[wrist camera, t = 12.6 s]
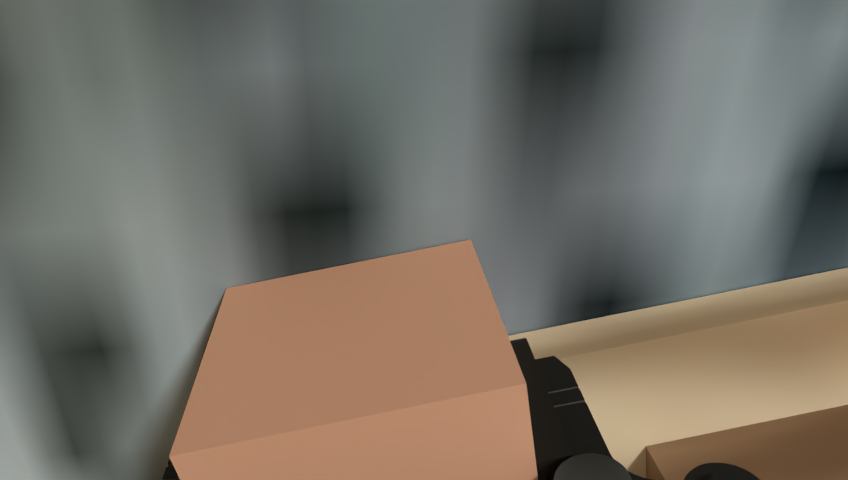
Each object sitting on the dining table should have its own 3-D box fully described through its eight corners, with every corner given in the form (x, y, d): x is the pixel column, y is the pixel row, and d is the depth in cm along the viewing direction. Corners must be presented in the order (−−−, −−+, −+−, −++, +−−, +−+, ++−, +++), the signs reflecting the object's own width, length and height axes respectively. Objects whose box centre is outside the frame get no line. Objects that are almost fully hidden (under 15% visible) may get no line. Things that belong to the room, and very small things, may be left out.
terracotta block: (226, 288, 14) (168, 456, 10) (470, 239, 14) (526, 383, 10) (291, 467, 17) (270, 667, 12) (499, 424, 17) (554, 607, 12)
